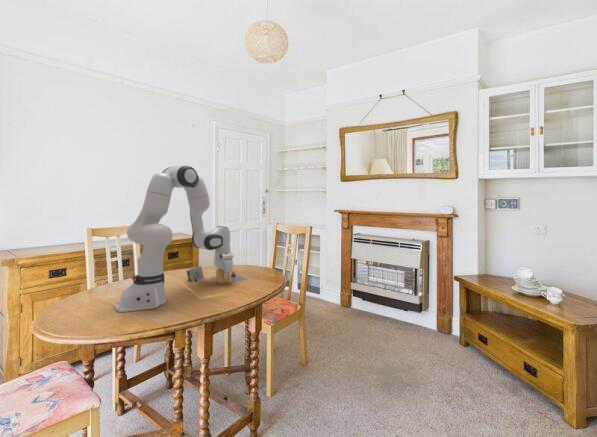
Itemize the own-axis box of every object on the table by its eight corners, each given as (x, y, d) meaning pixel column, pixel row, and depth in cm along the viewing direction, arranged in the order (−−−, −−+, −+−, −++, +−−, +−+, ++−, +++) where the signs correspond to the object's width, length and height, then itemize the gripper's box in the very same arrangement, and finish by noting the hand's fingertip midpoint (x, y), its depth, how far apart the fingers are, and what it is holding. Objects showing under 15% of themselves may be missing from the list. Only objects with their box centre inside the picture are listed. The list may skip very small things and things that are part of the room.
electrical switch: (192, 285, 183) (191, 269, 183) (186, 284, 186) (185, 269, 186) (204, 281, 192) (203, 266, 191) (198, 280, 194) (197, 265, 194)
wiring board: (219, 286, 181) (219, 277, 180) (210, 280, 194) (209, 271, 193) (248, 281, 191) (248, 273, 190) (237, 276, 204) (237, 267, 203)
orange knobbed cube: (219, 283, 183) (219, 269, 182) (216, 280, 188) (216, 267, 187) (229, 281, 186) (229, 268, 185) (225, 279, 191) (225, 266, 190)
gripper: (211, 251, 192) (211, 273, 193) (223, 257, 175) (224, 281, 177) (221, 250, 196) (221, 272, 197) (234, 255, 179) (234, 279, 180)
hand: (222, 276), depth 187 cm, fingers closed on orange knobbed cube, 6 cm apart
